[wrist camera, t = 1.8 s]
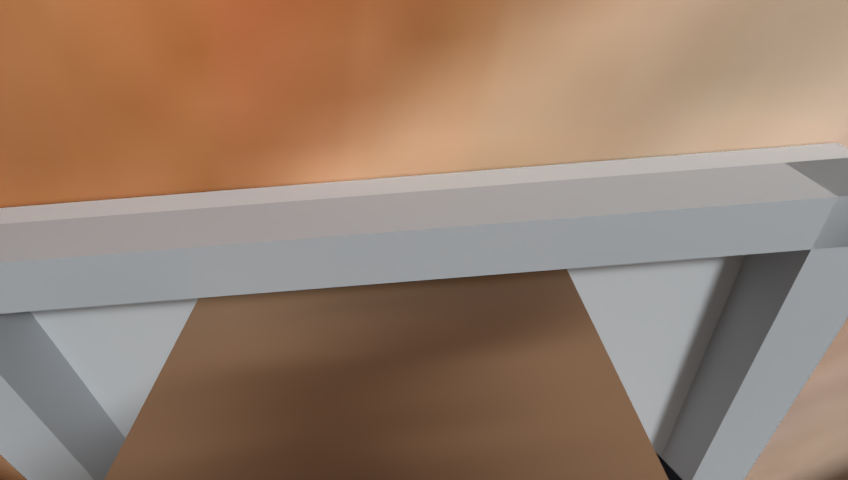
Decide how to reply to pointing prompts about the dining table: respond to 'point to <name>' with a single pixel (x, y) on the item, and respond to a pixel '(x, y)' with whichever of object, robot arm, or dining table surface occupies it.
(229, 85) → the dining table surface
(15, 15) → the dining table surface
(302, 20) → the dining table surface
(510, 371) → the box
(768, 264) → the bay
